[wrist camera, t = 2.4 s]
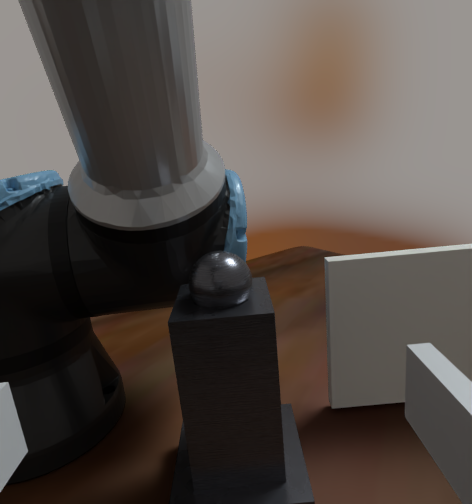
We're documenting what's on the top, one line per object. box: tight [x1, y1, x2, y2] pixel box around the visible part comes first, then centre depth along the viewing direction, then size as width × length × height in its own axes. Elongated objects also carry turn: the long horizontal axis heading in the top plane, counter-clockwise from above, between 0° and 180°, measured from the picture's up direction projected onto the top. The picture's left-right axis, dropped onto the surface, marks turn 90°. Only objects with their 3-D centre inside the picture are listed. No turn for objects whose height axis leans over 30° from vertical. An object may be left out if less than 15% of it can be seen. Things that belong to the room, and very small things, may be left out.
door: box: [325, 244, 472, 409], centre depth 33 cm, size 17×3×14 cm, turn 91°
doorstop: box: [168, 251, 315, 504], centre depth 25 cm, size 9×9×18 cm
